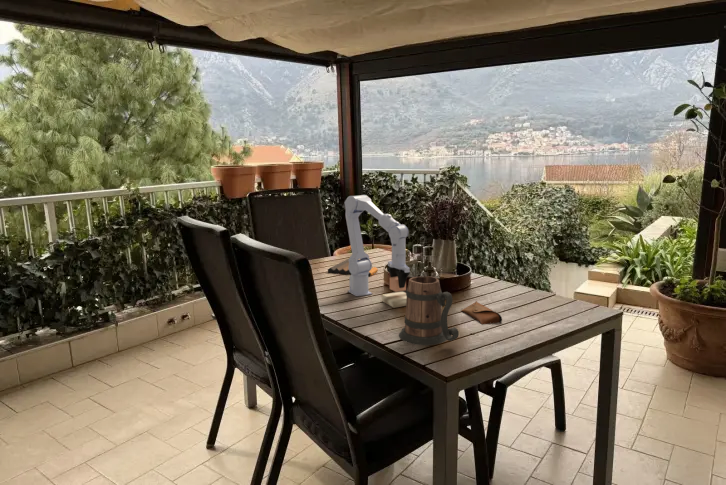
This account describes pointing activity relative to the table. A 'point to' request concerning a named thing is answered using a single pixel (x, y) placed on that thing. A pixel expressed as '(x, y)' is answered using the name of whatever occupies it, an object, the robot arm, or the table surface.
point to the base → (395, 299)
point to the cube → (395, 284)
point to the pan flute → (347, 268)
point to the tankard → (427, 313)
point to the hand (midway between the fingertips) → (398, 285)
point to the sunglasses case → (482, 314)
